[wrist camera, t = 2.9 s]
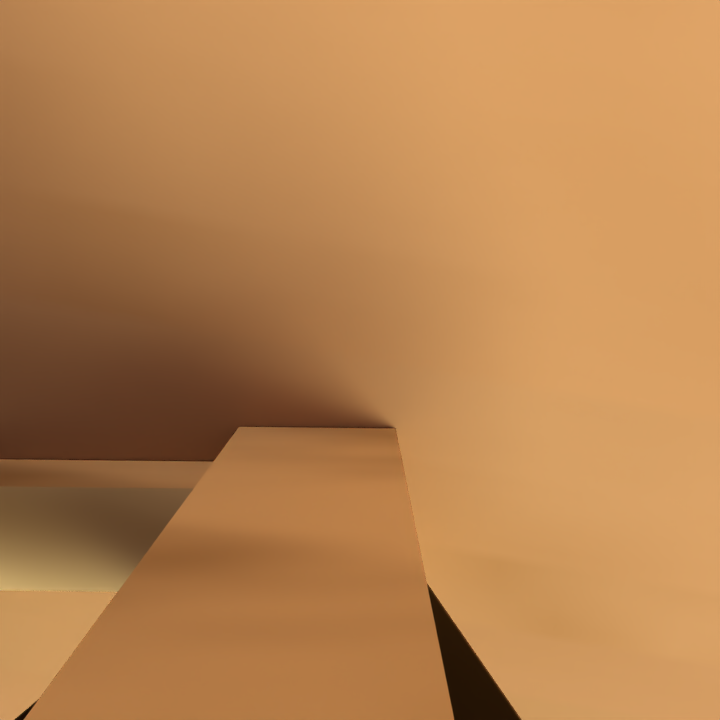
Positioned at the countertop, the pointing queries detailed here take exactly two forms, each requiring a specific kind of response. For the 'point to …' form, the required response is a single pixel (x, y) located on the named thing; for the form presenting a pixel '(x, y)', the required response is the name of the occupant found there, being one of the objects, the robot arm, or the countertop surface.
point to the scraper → (234, 580)
